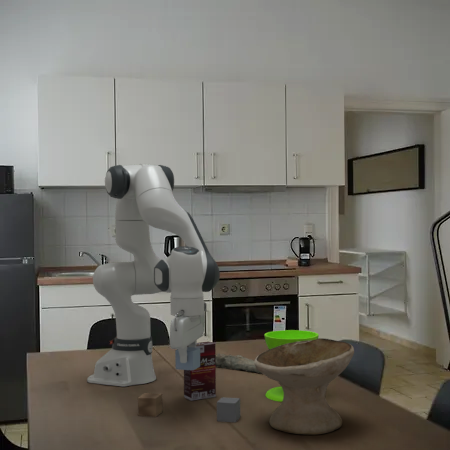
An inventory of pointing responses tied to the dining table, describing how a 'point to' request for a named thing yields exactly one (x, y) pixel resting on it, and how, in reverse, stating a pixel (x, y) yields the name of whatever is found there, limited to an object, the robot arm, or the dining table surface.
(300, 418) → the bowl
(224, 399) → the grey block
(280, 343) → the wineglass
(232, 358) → the long grey stone
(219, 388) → the dining table surface
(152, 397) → the walnut block
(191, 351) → the slate blue block
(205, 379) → the supplement box
